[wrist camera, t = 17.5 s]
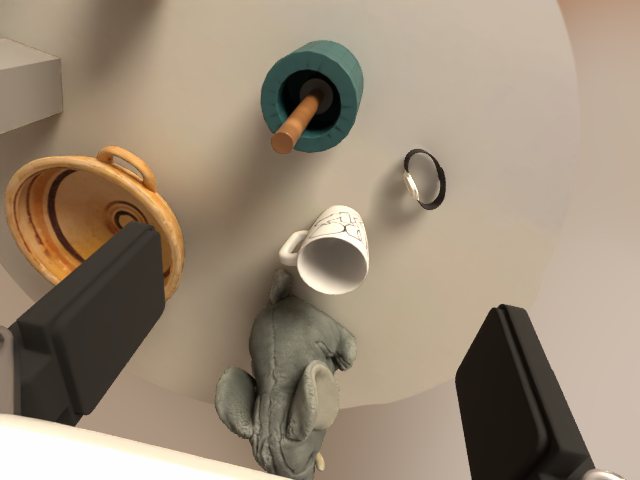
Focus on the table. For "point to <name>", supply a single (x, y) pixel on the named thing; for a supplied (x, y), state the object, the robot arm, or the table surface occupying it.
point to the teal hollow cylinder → (291, 75)
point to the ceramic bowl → (87, 211)
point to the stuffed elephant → (287, 384)
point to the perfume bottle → (27, 85)
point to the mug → (330, 252)
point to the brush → (305, 111)
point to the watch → (413, 188)
